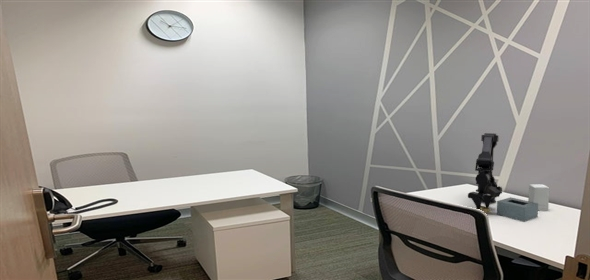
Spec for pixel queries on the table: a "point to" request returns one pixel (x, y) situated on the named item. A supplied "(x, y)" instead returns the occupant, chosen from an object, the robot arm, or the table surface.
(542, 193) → the supplement box
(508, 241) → the table surface
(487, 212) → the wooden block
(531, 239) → the table surface
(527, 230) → the table surface
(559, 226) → the table surface
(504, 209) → the box
